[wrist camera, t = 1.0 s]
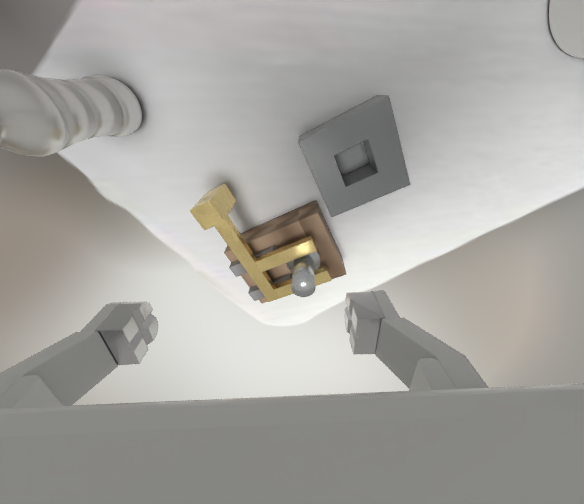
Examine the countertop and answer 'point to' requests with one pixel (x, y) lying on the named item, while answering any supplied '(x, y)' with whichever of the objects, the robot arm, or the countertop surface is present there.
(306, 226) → the socket block
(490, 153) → the countertop surface
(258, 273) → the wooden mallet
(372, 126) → the grey square holed piece
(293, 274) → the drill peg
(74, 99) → the plastic bottle
